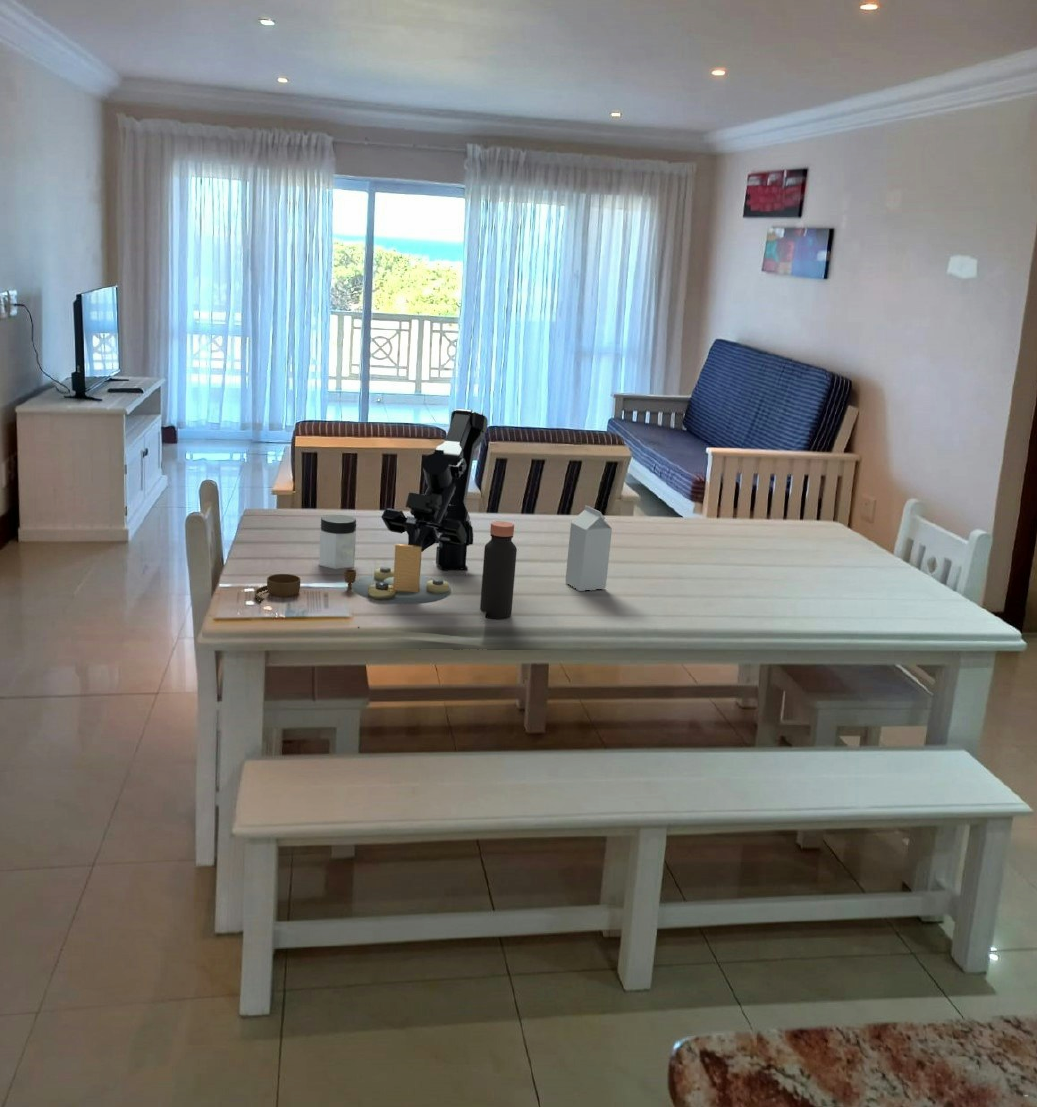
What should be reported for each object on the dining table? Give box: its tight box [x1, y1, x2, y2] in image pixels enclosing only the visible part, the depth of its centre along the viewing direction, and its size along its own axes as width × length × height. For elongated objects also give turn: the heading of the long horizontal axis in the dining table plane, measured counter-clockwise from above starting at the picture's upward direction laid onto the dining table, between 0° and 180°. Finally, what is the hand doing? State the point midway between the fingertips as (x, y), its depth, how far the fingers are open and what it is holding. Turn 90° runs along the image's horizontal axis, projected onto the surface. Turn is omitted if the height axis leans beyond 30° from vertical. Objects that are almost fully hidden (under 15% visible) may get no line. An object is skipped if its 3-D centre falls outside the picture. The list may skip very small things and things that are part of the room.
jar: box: [318, 514, 357, 570], centre depth 254 cm, size 9×8×12 cm
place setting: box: [254, 568, 357, 602], centre depth 231 cm, size 18×20×6 cm
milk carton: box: [564, 504, 613, 592], centre depth 255 cm, size 7×7×19 cm
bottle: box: [479, 520, 518, 620], centre depth 230 cm, size 7×7×20 cm
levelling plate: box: [351, 566, 452, 605], centre depth 241 cm, size 22×22×3 cm
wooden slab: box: [367, 543, 422, 600], centre depth 232 cm, size 11×6×12 cm, turn 87°
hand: (409, 558), depth 233 cm, fingers closed
